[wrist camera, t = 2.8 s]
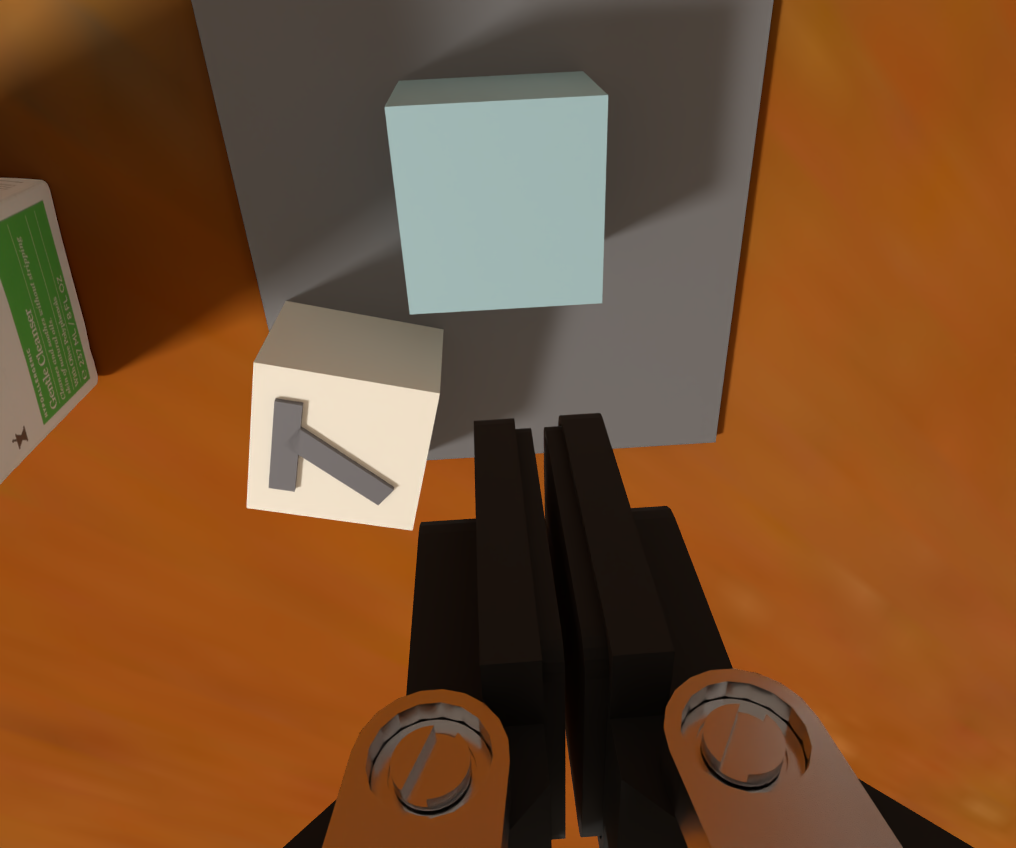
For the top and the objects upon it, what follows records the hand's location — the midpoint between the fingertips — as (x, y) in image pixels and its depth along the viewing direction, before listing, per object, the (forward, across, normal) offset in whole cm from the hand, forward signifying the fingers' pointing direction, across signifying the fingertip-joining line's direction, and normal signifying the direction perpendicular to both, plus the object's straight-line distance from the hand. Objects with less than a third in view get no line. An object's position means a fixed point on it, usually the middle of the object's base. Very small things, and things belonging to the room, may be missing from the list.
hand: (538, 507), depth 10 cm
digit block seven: (+18, +6, +8) cm, 21 cm away
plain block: (+18, 0, 0) cm, 18 cm away
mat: (+19, 0, 0) cm, 19 cm away
